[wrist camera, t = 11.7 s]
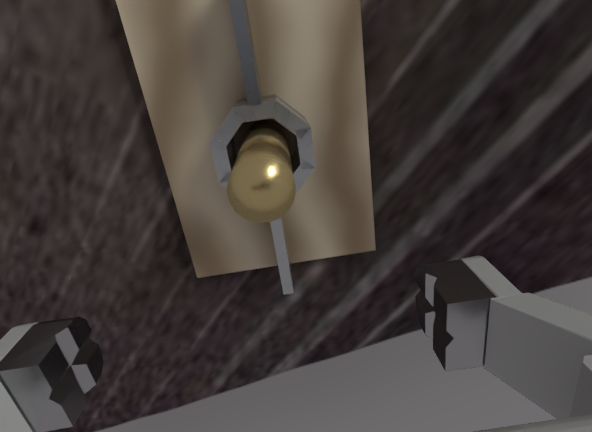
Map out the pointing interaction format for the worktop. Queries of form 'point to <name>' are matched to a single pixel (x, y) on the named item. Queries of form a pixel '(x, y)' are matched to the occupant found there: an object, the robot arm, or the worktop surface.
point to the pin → (262, 174)
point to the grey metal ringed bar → (258, 110)
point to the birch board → (224, 95)
